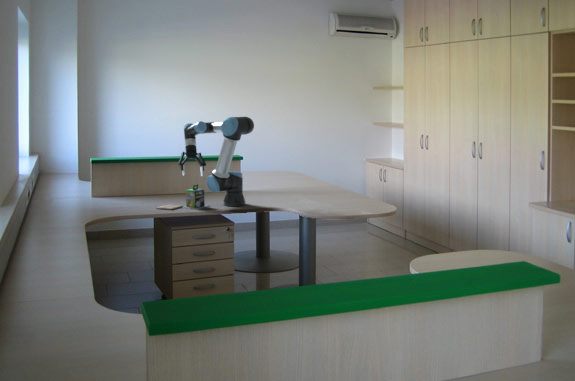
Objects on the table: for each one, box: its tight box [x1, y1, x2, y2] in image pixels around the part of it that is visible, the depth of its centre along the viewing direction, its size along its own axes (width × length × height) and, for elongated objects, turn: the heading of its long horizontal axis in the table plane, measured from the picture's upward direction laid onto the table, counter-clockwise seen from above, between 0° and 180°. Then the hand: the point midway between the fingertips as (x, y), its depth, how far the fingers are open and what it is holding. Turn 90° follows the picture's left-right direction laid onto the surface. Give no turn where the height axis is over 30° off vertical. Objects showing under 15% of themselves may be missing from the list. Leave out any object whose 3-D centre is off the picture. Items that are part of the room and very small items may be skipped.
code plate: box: [180, 204, 211, 210], centre depth 432 cm, size 14×14×1 cm
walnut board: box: [155, 203, 184, 211], centre depth 429 cm, size 13×13×1 cm
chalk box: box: [185, 184, 206, 208], centre depth 431 cm, size 9×9×15 cm
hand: (193, 175), depth 438 cm, fingers open, 13 cm apart
